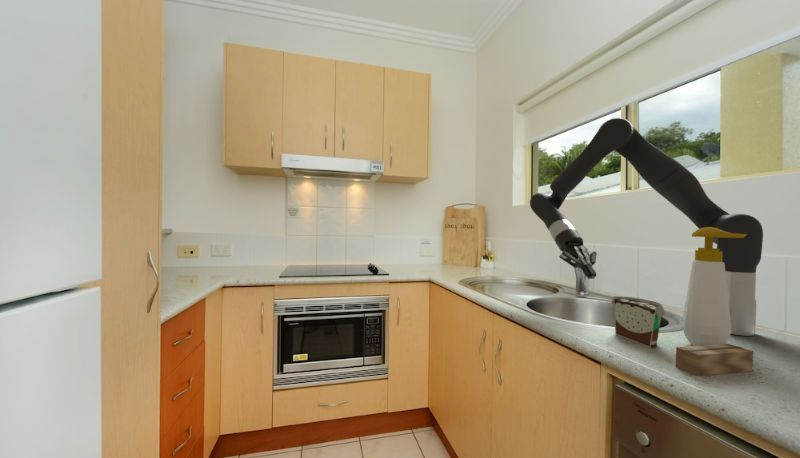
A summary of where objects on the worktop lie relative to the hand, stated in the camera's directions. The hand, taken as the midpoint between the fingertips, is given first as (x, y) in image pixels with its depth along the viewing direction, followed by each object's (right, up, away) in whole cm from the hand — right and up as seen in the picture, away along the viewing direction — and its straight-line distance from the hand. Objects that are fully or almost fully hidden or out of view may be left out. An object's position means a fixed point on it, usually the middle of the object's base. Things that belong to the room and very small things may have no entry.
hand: (592, 277), depth 94 cm
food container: (+3, -14, -16) cm, 21 cm away
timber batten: (+5, -14, -31) cm, 35 cm away
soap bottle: (+16, -14, -20) cm, 29 cm away
